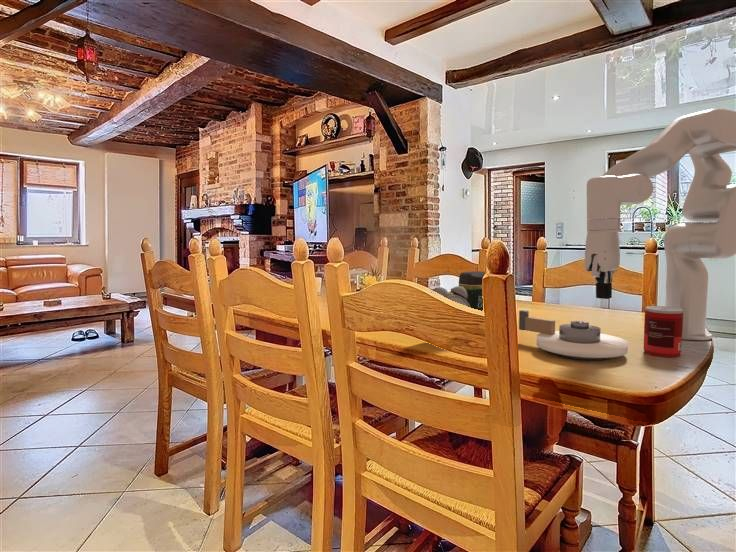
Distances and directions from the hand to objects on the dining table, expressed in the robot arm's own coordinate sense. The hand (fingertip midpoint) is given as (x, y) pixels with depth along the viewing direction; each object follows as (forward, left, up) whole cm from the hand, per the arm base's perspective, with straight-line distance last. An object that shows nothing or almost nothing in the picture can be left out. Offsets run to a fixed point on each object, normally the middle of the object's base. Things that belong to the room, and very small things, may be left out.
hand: (603, 298), depth 115 cm
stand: (+11, 0, -13) cm, 17 cm away
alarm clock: (+25, -30, -13) cm, 41 cm away
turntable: (+11, -4, -11) cm, 16 cm away
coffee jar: (+13, -30, -13) cm, 35 cm away
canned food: (-3, +13, -13) cm, 18 cm away
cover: (+12, 0, -9) cm, 15 cm away
